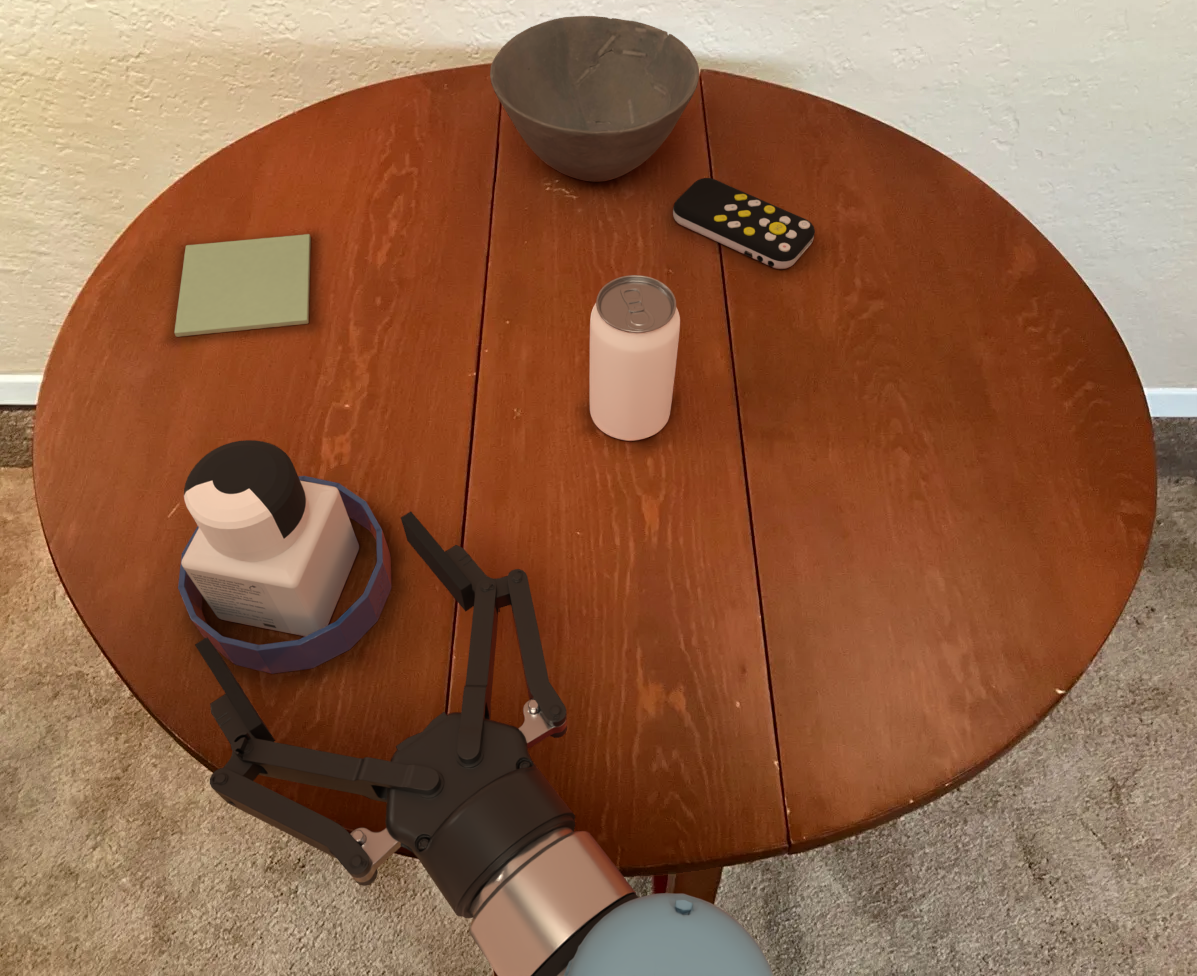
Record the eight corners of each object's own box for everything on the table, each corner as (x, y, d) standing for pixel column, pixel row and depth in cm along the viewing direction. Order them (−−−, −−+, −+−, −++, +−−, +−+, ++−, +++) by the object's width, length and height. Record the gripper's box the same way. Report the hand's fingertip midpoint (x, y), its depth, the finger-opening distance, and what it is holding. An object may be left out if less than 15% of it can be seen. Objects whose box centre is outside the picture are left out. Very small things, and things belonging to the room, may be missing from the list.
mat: (176, 337, 81) (173, 333, 81) (187, 249, 88) (185, 245, 87) (308, 323, 82) (307, 319, 82) (310, 238, 89) (309, 233, 88)
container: (261, 527, 71) (203, 415, 60) (362, 546, 70) (321, 435, 59) (216, 620, 66) (145, 517, 56) (323, 642, 65) (271, 541, 55)
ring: (189, 685, 64) (169, 662, 61) (204, 516, 71) (188, 488, 68) (394, 657, 65) (385, 633, 62) (388, 494, 72) (380, 466, 69)
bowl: (722, 142, 97) (734, 48, 89) (629, 250, 88) (633, 156, 80) (565, 85, 103) (563, -8, 95) (461, 181, 93) (449, 87, 85)
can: (598, 449, 75) (600, 342, 65) (582, 387, 79) (581, 277, 69) (679, 437, 76) (692, 329, 66) (659, 376, 79) (669, 265, 70)
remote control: (700, 187, 93) (702, 169, 92) (818, 239, 89) (822, 221, 88) (666, 221, 90) (667, 204, 89) (785, 276, 86) (789, 259, 85)
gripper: (323, 1060, 47) (139, 734, 57) (699, 748, 56) (488, 511, 66) (283, 1046, 41) (85, 682, 50) (713, 697, 50) (477, 444, 59)
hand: (312, 585), depth 58 cm, fingers open, 13 cm apart
